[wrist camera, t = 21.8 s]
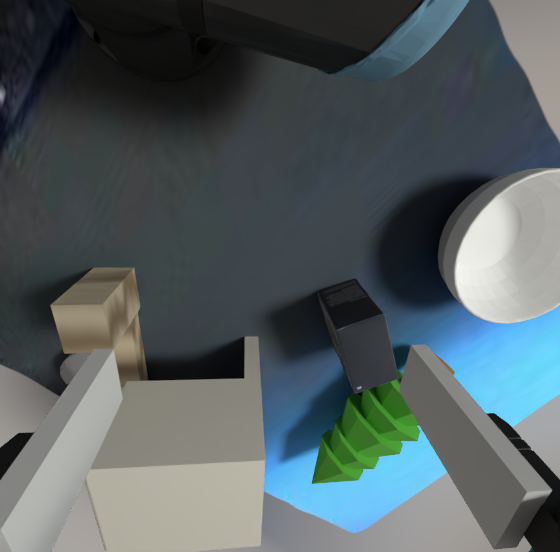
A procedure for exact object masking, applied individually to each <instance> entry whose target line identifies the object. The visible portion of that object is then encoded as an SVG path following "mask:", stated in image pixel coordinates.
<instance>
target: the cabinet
mask: <svg viewBox="0 0 560 552" xmlns="http://www.w3.org/2000/svg"><path fill="white" fill-rule="evenodd" d="M121 391H122V396H123V400H122V402H121V404H120V406H119V409H118V411H117V413H116V415H115V417H114V419H113V421H112V423H111V426H110V428H109V430H108V432H107V434H106V436H105V438H104V441H103V443H102V445H101V447H100V449H99V451H98V453H97V455H96V458H95V460H94V462H93V464H92V466H91V468H90V470H89V472H88V475H87V477H86V479H85V484H86V487H87V491H88V494H89V497H90V501H91V504H92V508H93V511H94V515H95V518H96V521H97V525H98V528H99V532H100V535H101V538H102V542H103V545H104V549H105V551H107V552H193V551H206V550H218V549H230V548H241V547H253V546H260V545H261V528H262V511H263V493H264V475H265V447H264V430H263V413H262V396H261V379H260V362H259V344H258V337H245V354H244V379H202V380H160V381H127V382H126V384H125V386H124V387H121Z"/></svg>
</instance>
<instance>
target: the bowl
mask: <svg viewBox="0 0 560 552" xmlns="http://www.w3.org/2000/svg"><path fill="white" fill-rule="evenodd" d="M438 265H439V270H440V273H441V276H442V279H443V280H444V282H445V283H446V285H447V287H448V288H449V290H450V292H451V293H452V295H453V296H454V297H455V298H456V299H457V300H458V301H459V302H460V303H461V304H462V305H463V306H464V307H465V308H466V309H467V310H468V311H469V312H470V313H471V314H473V315H475V316H477V317H479V318H481V319H482V320H486V321H490V322H494V323H515V322H522V321H525V320H529V319H532V318H536V317H538V316H540V315H542V314H544V313H547V312H549V311H551V310H552V309H554V308H556V307H557V306H559V305H560V168H539V169H529V170H525V171H519V172H514V173H510V174H506V175H503V176H500V177H497V178H495V179H493V180H491V181H489V182H487V183H485V184H483V185H482V186H481V187H479V188H478V189H476V190H475V191H474V192H472V193H471V194H470V195H469V196H468V197H466V198H465V199H464V200H463V201H462V202H461V203H460V204H459V205H458V206H457V207H456V209H455V210H454V211H453V213H452V214H451V215H450V217H449V219H448V220H447V222H446V224H445V226H444V228H443V231H442V235H441V238H440V243H439V250H438Z"/></svg>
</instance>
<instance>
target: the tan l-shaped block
mask: <svg viewBox="0 0 560 552" xmlns="http://www.w3.org/2000/svg"><path fill="white" fill-rule="evenodd" d="M50 306H51V309H52V313H53V316H54V320H55V323H56V326H57V330H58V333H59V337H60V340H61V344H62V347H63V351H64V354H67V353H92V351H93V350H94V349H114V353H115V359H116V364H117V369H118V375H119V380H120V385H121V387H124V386H125V384H126V382H127V381H149V380H148V374H147V368H146V362H145V355H144V349H143V343H142V337H141V331H140V325H139V318H138V311H139V309H140V301H139V295H138V289H137V282H136V276H135V269H134V268H93V269H92V270H91V271H89V272H88V273H87V274H86V275H85V276H84V277H82V278H81V279H80V280H79V281H78V282H77V283H75V284H74V285H73V286H72V287H71V288H70V289H68V290H67V291H66V292H65V293H64V294H63V295H61V296H60V297H59V298H58V299H57V300H56V301H55V302H53V303H52V304H51V305H50Z"/></svg>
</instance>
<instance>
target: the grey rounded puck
mask: <svg viewBox="0 0 560 552" xmlns="http://www.w3.org/2000/svg"><path fill="white" fill-rule="evenodd" d="M90 354H91V353H70V354H69V356H68V357H67V358H66V359H65V361H64V362H63V363H62V365H61V367H60V374H61V377H62V379H63V380H64V382H65V383H66V384H68V385H69V384H70V382H71V381H72V379H73V378H74V377H75V375H76V374H77V372H78V371H79V370H80V368H81V367H82V365H83V364H84V363H85V361H86V360H87V358H88V357H89V356H90Z"/></svg>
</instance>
